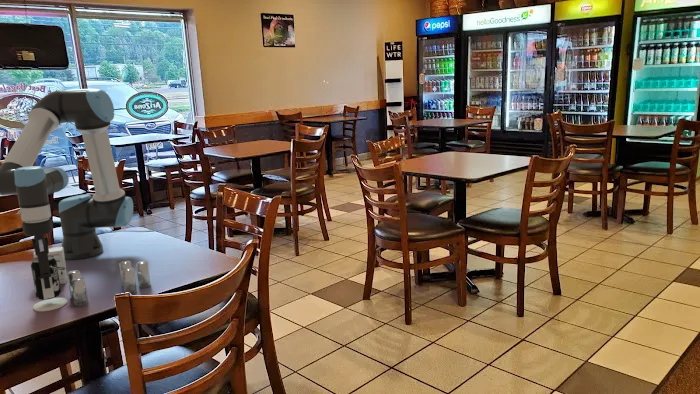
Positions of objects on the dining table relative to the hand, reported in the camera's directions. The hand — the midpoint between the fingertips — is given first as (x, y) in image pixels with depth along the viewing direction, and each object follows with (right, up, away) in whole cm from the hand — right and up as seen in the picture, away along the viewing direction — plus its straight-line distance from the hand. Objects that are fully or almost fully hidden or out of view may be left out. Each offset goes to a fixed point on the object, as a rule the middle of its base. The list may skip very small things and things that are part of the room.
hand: (48, 293), depth 155 cm
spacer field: (+15, -1, +9) cm, 18 cm away
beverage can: (0, -1, 0) cm, 1 cm away
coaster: (0, -4, +1) cm, 4 cm away
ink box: (-10, 0, +19) cm, 22 cm away
